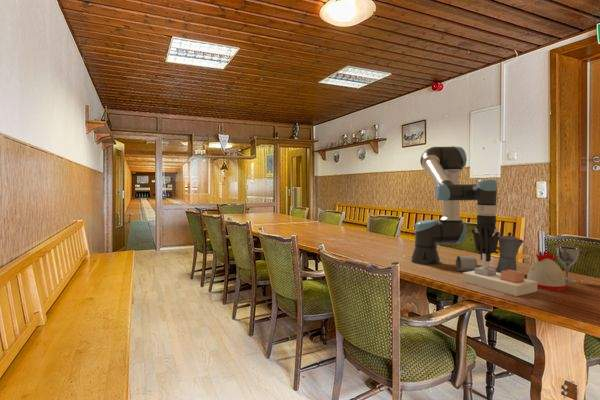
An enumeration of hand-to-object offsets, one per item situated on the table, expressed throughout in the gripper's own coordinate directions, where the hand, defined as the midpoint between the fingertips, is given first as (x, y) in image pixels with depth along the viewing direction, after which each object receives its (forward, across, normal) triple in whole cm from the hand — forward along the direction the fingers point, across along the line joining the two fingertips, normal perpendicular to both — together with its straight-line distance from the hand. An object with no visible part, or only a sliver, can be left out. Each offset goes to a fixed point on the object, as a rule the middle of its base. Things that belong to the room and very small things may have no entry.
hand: (485, 268), depth 156 cm
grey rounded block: (+4, 0, 0) cm, 4 cm away
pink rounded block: (+3, +12, 0) cm, 12 cm away
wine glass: (+7, +15, +36) cm, 40 cm away
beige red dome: (+7, +15, +19) cm, 25 cm away
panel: (+7, +6, 0) cm, 9 cm away
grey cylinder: (+7, -20, +12) cm, 24 cm away
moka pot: (+7, -7, +26) cm, 28 cm away
